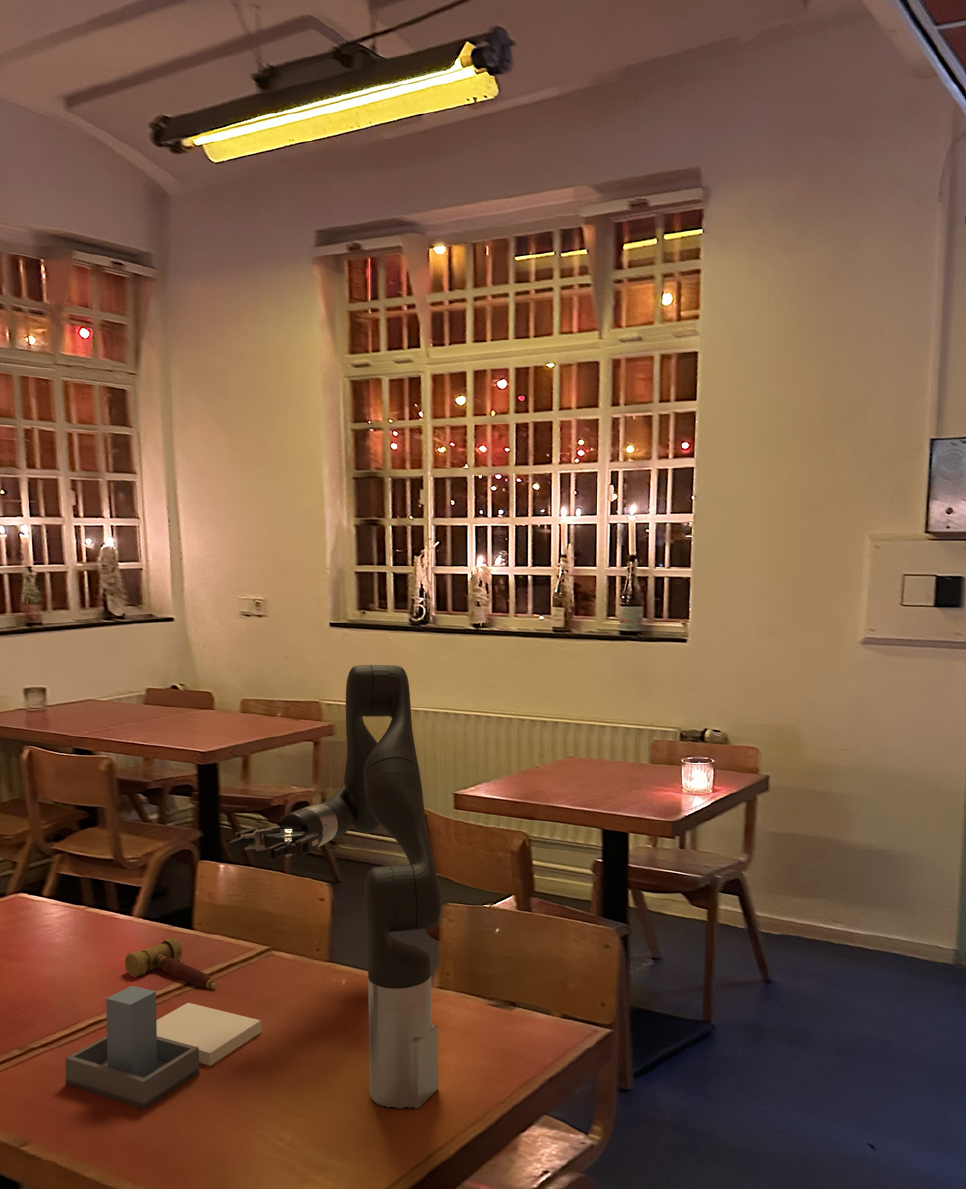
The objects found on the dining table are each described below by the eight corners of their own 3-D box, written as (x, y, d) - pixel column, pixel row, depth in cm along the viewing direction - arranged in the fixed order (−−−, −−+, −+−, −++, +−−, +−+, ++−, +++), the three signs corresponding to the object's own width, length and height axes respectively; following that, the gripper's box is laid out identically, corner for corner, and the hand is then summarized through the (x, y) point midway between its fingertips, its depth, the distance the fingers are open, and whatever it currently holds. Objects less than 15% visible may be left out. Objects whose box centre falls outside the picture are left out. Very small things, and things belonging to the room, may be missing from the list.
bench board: (260, 1032, 159) (260, 1020, 159) (210, 1065, 148) (210, 1052, 148) (188, 1014, 166) (188, 1002, 166) (135, 1044, 155) (135, 1032, 155)
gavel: (237, 965, 180) (193, 984, 171) (236, 989, 180) (192, 1008, 172) (168, 934, 192) (124, 950, 184) (168, 957, 192) (123, 974, 184)
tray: (199, 1073, 146) (198, 1047, 146) (144, 1109, 136) (143, 1081, 136) (123, 1051, 153) (122, 1026, 153) (65, 1084, 143) (65, 1057, 143)
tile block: (157, 1069, 146) (155, 991, 145) (132, 1085, 141) (130, 1004, 141) (133, 1062, 148) (132, 985, 148) (107, 1077, 143) (106, 998, 143)
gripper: (276, 804, 177) (215, 825, 162) (339, 811, 171) (282, 834, 156) (277, 844, 177) (216, 869, 162) (340, 853, 171) (283, 879, 156)
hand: (248, 851), depth 159 cm, fingers open, 8 cm apart
